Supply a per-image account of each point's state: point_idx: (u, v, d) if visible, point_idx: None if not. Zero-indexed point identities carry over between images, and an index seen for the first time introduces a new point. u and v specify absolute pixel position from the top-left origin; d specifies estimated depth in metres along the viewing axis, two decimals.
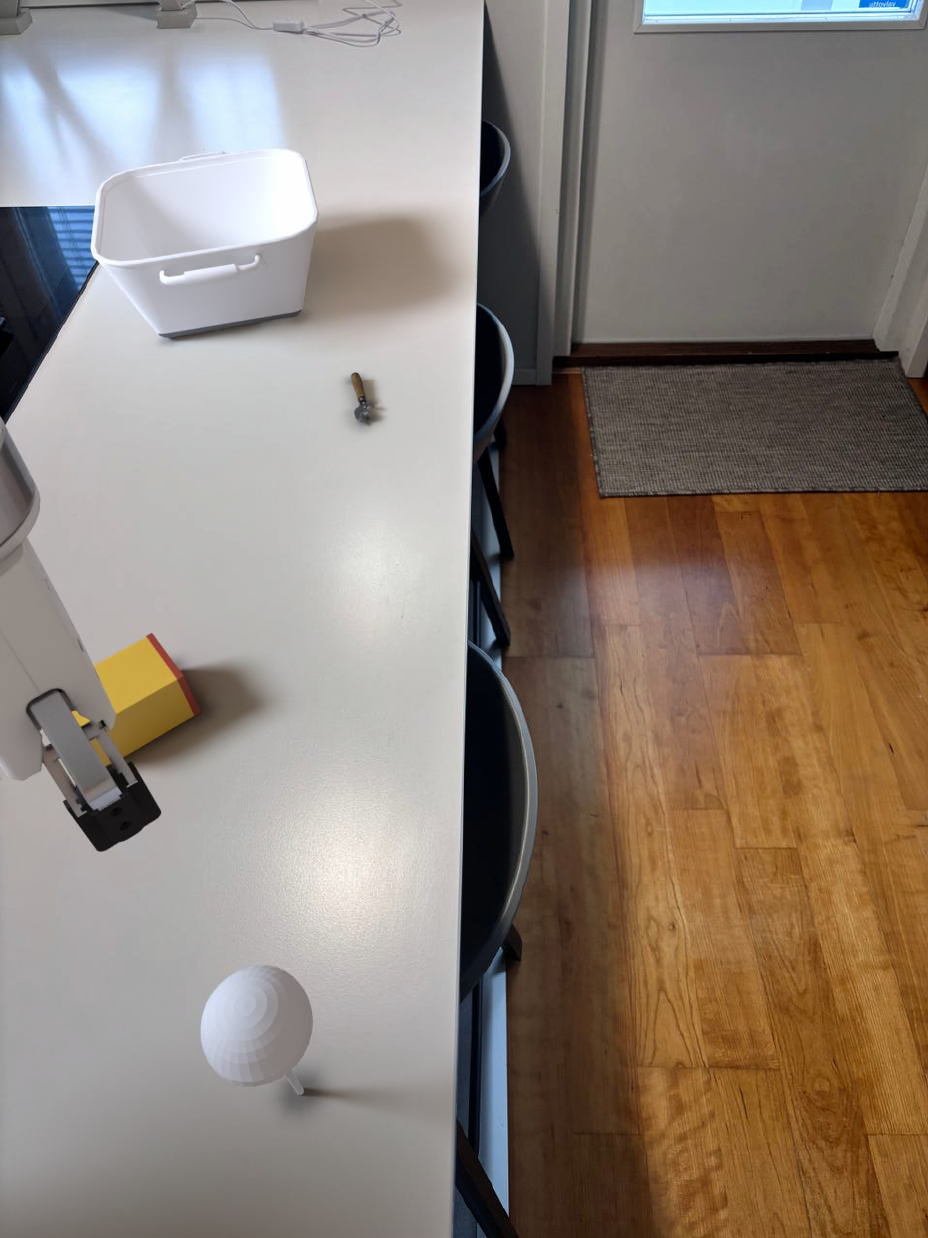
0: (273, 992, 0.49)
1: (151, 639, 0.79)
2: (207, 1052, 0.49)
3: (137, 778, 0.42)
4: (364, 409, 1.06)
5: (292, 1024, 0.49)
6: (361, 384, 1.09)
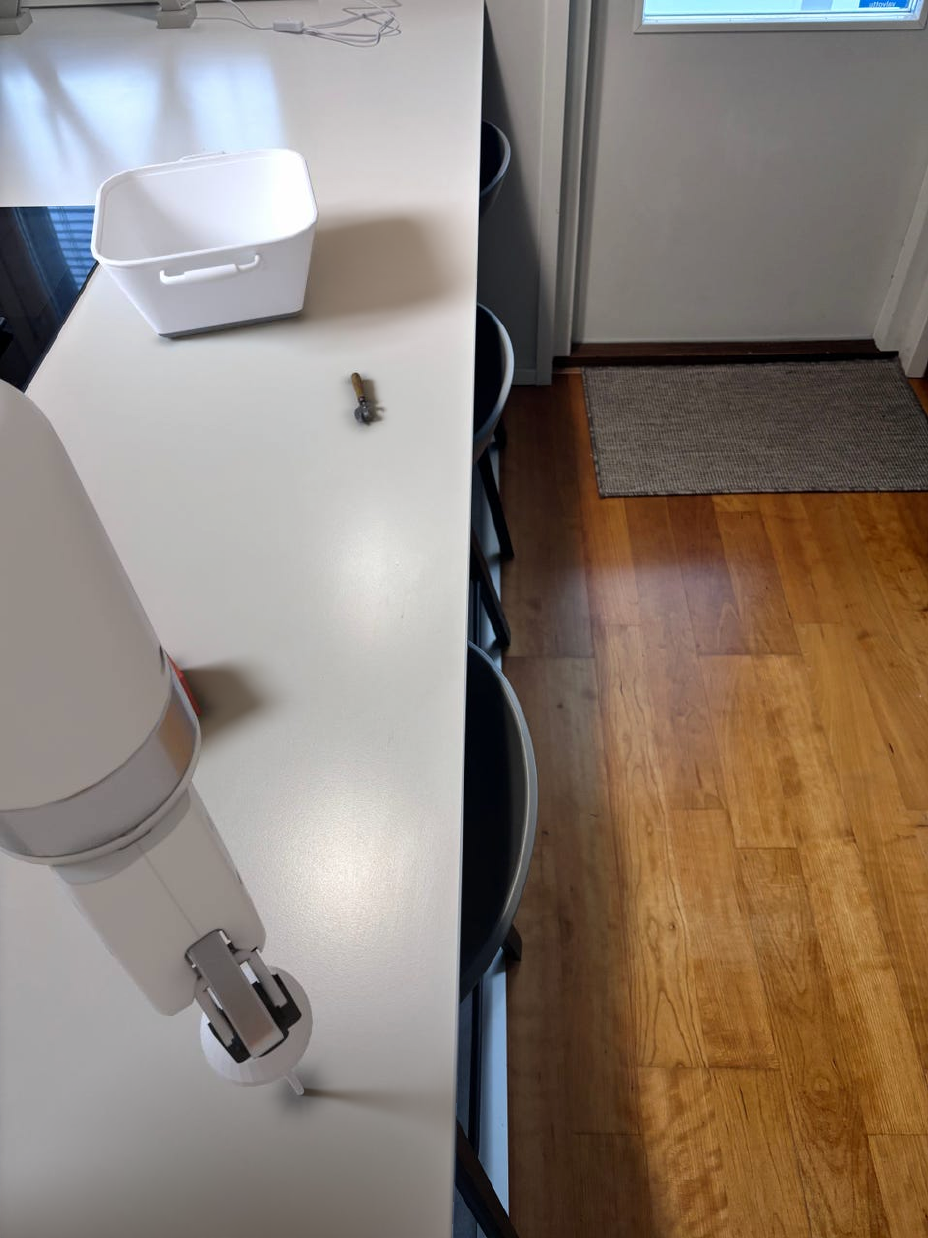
0: None
1: None
2: (207, 1052, 0.49)
3: (283, 991, 0.39)
4: (364, 409, 1.06)
5: None
6: (361, 384, 1.09)
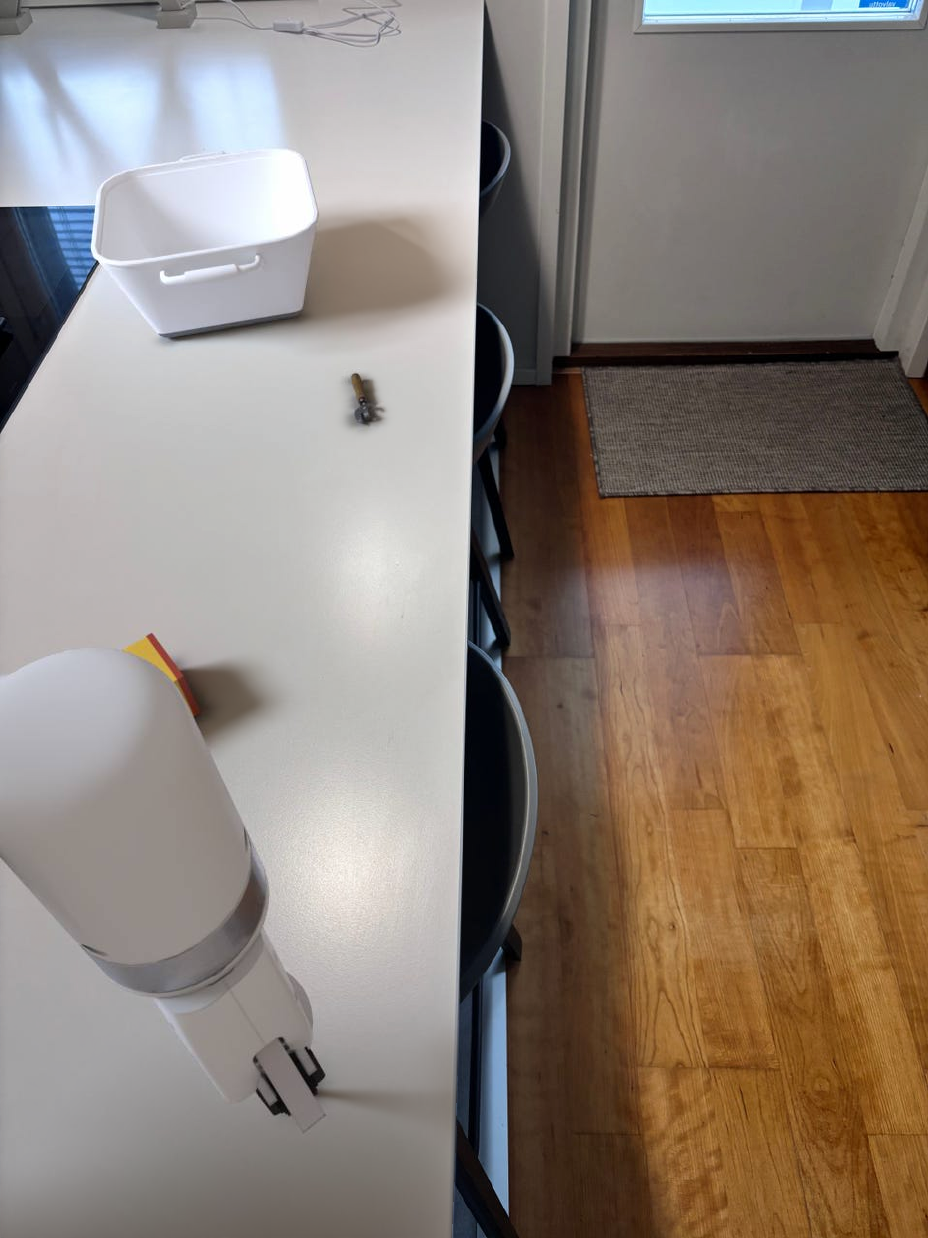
0: None
1: (151, 639, 0.79)
2: None
3: (312, 1059, 0.48)
4: (364, 410, 1.06)
5: None
6: (361, 385, 1.09)
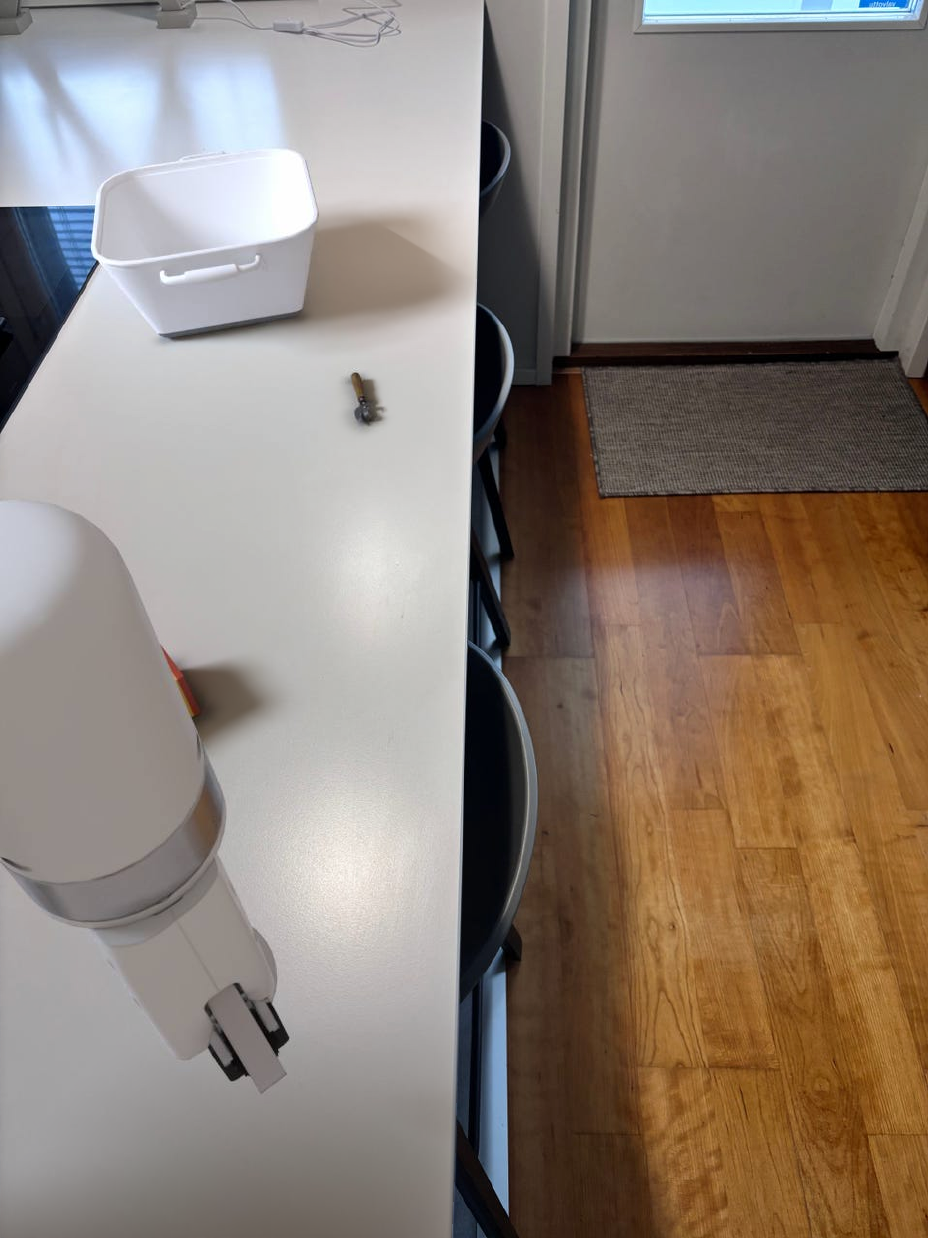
0: None
1: None
2: None
3: (274, 1017, 0.43)
4: (364, 409, 1.06)
5: None
6: (361, 384, 1.09)
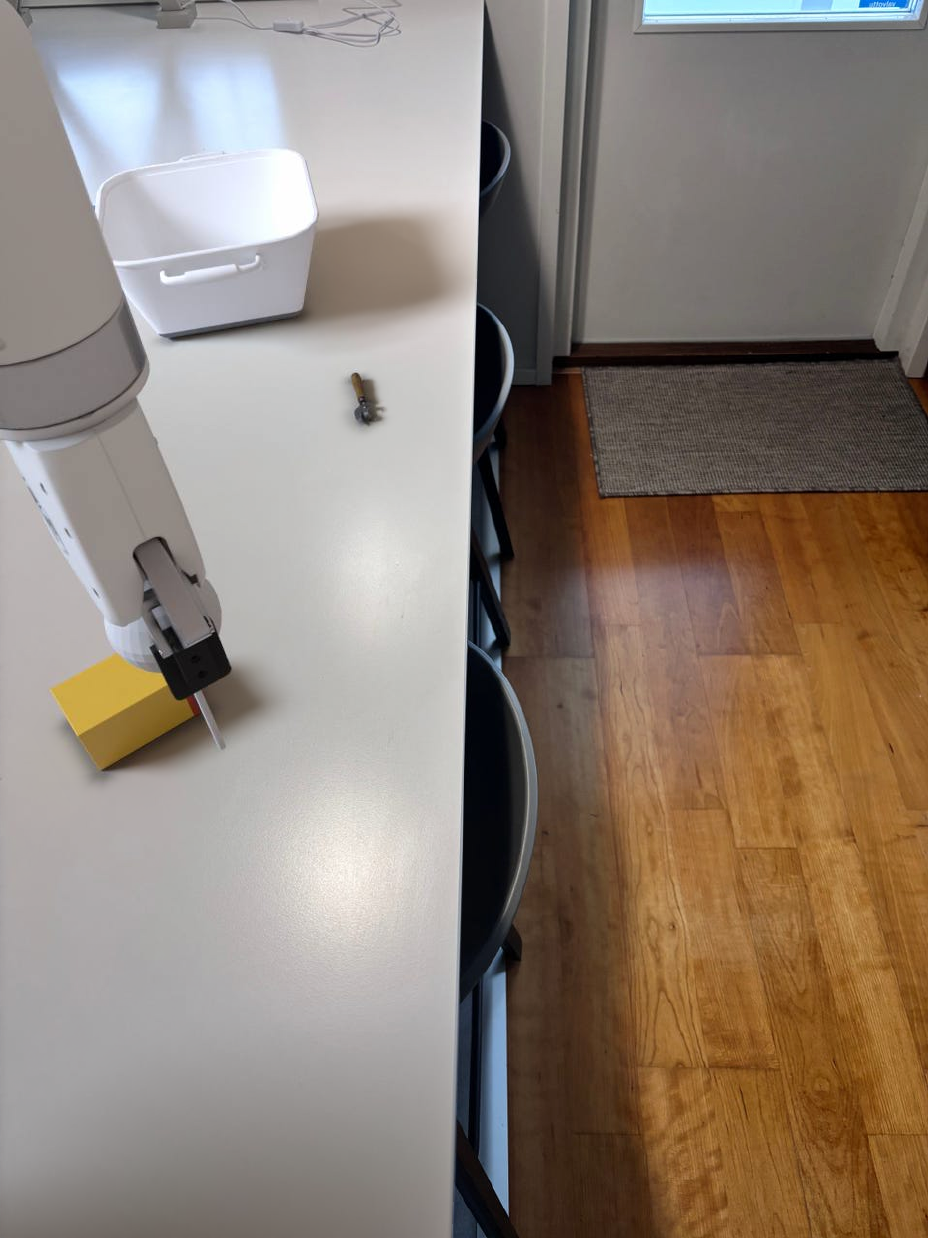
0: None
1: None
2: (108, 628, 0.48)
3: (213, 631, 0.47)
4: (364, 409, 1.06)
5: None
6: (361, 384, 1.09)
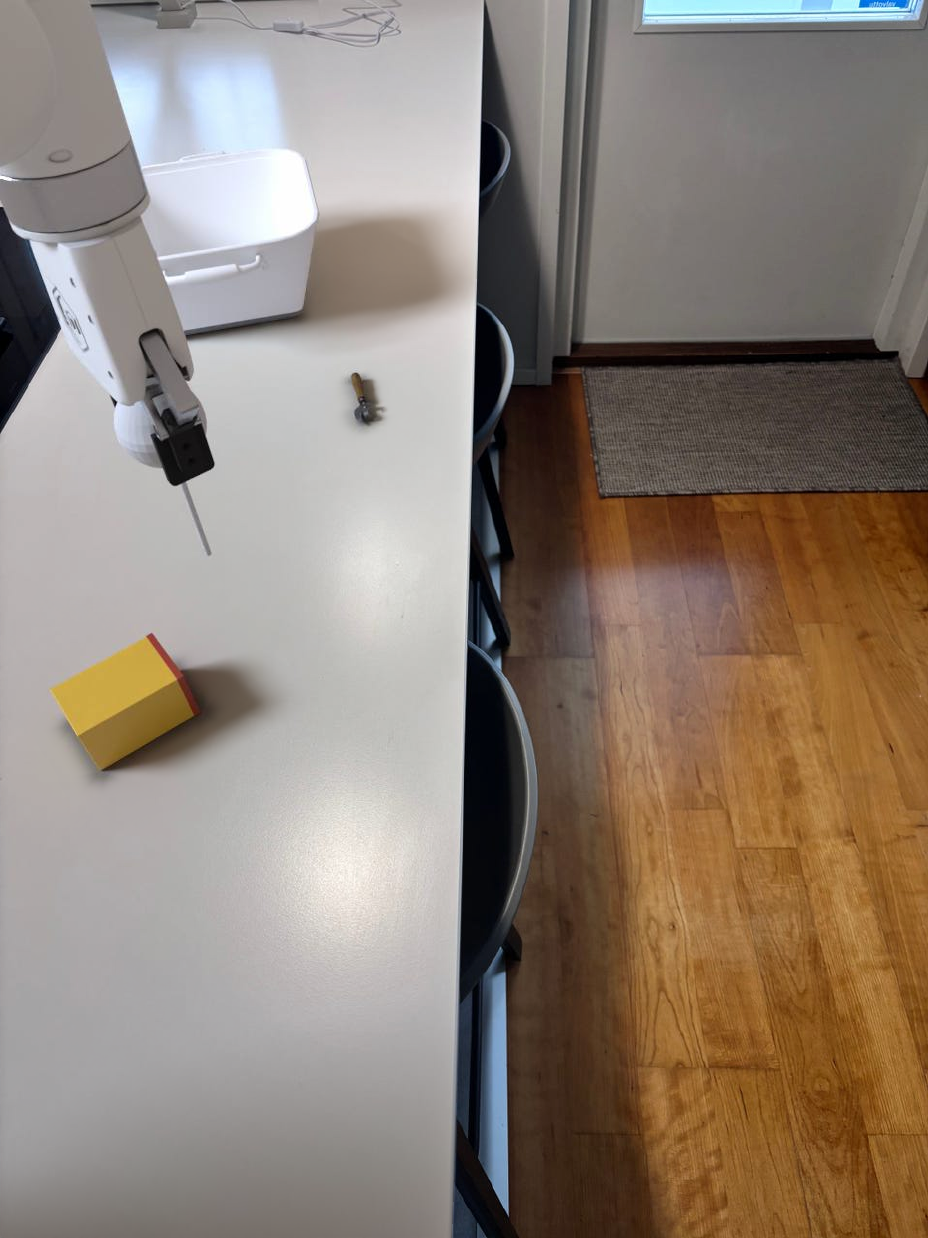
0: None
1: (151, 639, 0.79)
2: (117, 426, 0.61)
3: (200, 427, 0.60)
4: (364, 409, 1.06)
5: None
6: (361, 384, 1.09)
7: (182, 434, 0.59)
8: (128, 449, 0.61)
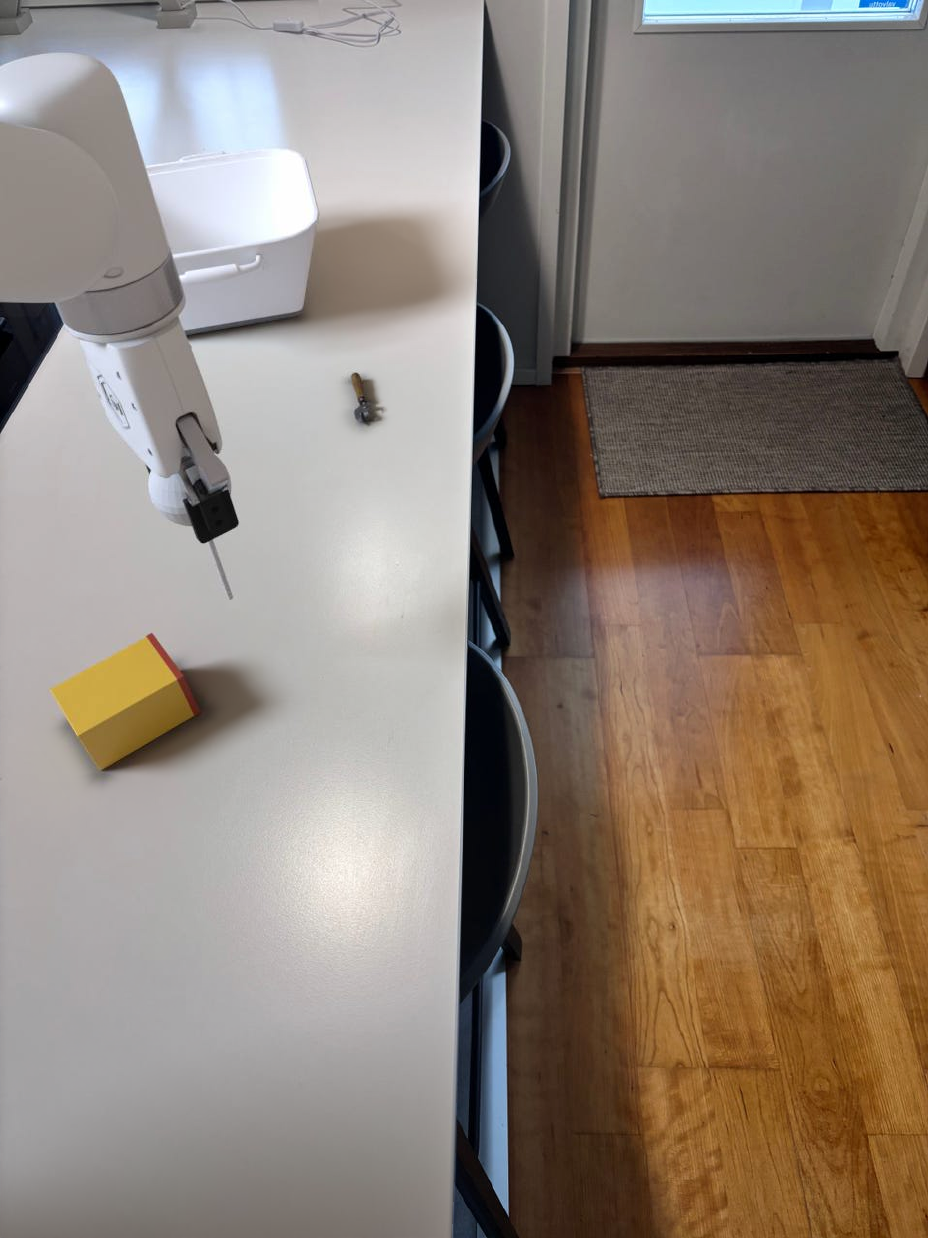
0: None
1: (151, 639, 0.79)
2: (152, 490, 0.68)
3: (226, 491, 0.67)
4: (364, 409, 1.06)
5: None
6: (361, 384, 1.09)
7: (211, 499, 0.66)
8: (161, 511, 0.68)
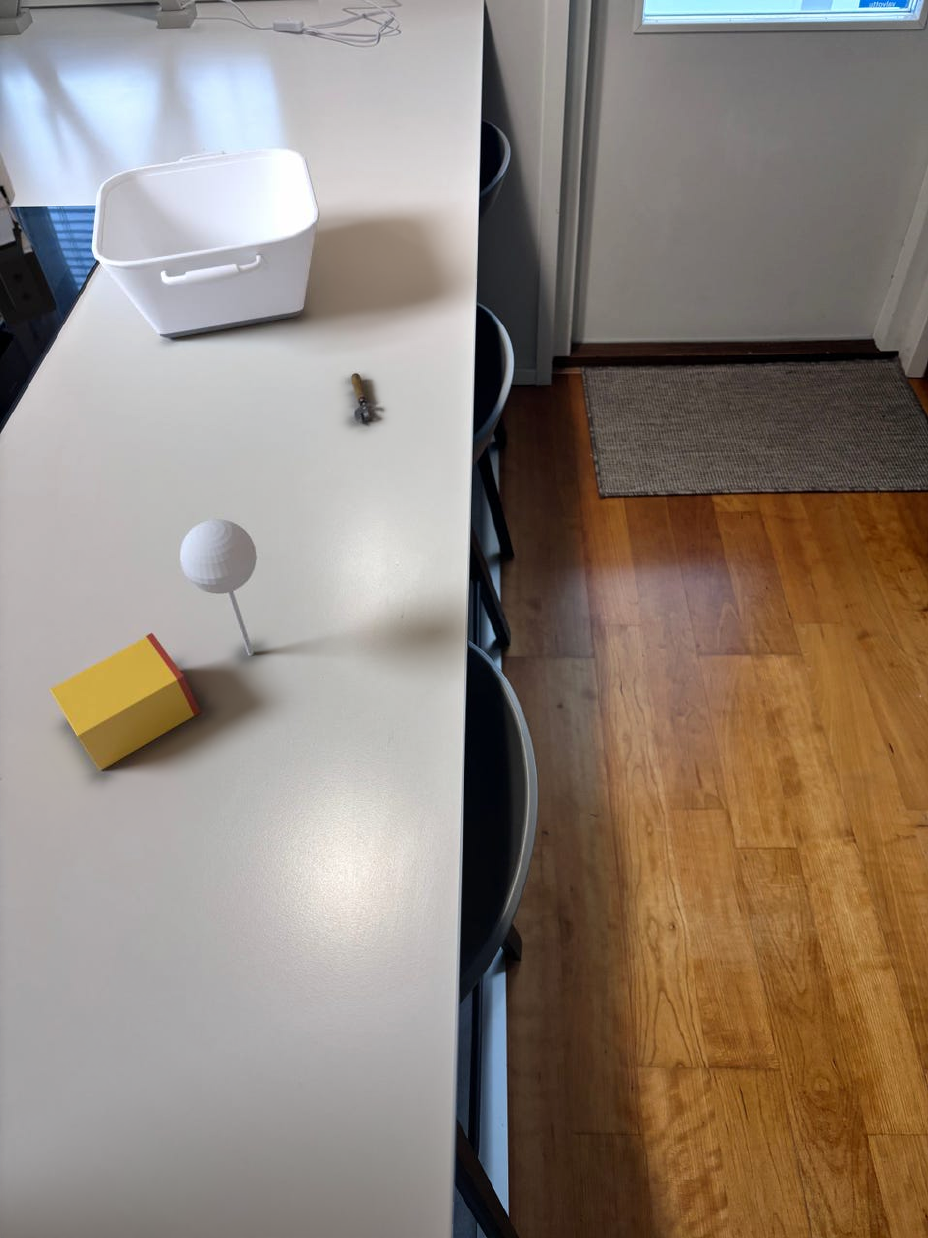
0: (229, 525, 0.74)
1: (151, 639, 0.79)
2: (184, 562, 0.73)
3: (34, 258, 0.56)
4: (364, 410, 1.06)
5: (241, 545, 0.73)
6: (361, 385, 1.09)
7: (11, 262, 0.55)
8: (192, 580, 0.74)
